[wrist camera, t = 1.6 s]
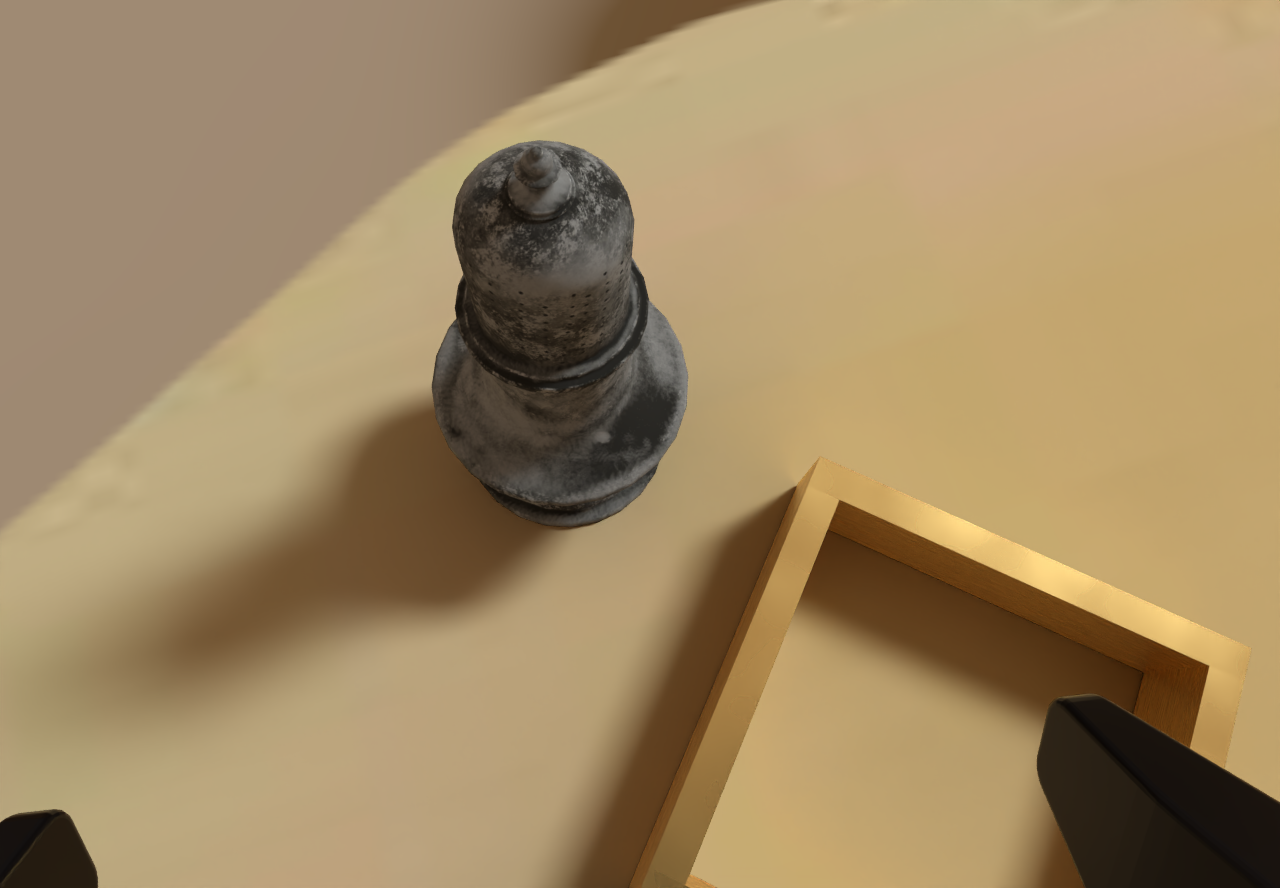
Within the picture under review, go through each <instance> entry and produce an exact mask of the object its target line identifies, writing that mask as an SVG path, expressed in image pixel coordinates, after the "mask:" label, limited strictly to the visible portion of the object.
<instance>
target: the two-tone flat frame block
mask: <svg viewBox="0 0 1280 888" xmlns="http://www.w3.org/2000/svg"><path fill="white" fill-rule="evenodd" d="M827 530H831V531H833V532H835V533H837V534H839V535H842V536H844V537H846V538H848V539H850V540H853V541H855V542H857V543H859V544H862V545H864V546H866V547H868V548H870V549H873V550H875V551H877V552H879V553H881V554H884V555H886V556H888V557H890V558H892V559H895V560H897V561H899V562H901V563H903V564H906V565H908V566H910V567H912V568H914V569H917V570H919V571H921V572H923V573H926V574H928V575H930V576H932V577H934V578H937V579H939V580H941V581H943V582H945V583H948V584H950V585H952V586H954V587H956V588H959V589H961V590H963V591H965V592H967V593H970V594H972V595H974V596H976V597H978V598H981V599H983V600H985V601H987V602H989V603H992V604H994V605H996V606H998V607H1001V608H1003V609H1005V610H1007V611H1009V612H1012V613H1014V614H1016V615H1018V616H1020V617H1023V618H1025V619H1027V620H1029V621H1031V622H1034V623H1036V624H1038V625H1040V626H1042V627H1045V628H1047V629H1049V630H1051V631H1053V632H1056V633H1058V634H1060V635H1062V636H1065V637H1067V638H1069V639H1071V640H1073V641H1076V642H1078V643H1080V644H1082V645H1084V646H1087V647H1089V648H1091V649H1093V650H1095V651H1098V652H1100V653H1102V654H1104V655H1106V656H1109V657H1111V658H1113V659H1115V660H1117V661H1120V662H1122V663H1124V664H1126V665H1128V666H1131V667H1133V668H1135V669H1137V670H1140V671H1142V672H1144V675H1143V678H1142V682H1141V686H1140V690H1139V693H1138V697H1137V701H1136V705H1135V709H1134V712H1133V715H1135V716H1137V717H1138V718H1140V719H1142V720H1143V721H1145V722H1147V723H1148V724H1150V725H1152V726H1153V727H1155V728H1157V729H1158V730H1160V731H1162V732H1163V733H1165V734H1167V735H1168V736H1170V737H1172V738H1173V739H1175V740H1177V741H1178V742H1180V743H1182V744H1183V745H1185V746H1187V747H1188V748H1190V749H1192V750H1193V751H1195V752H1197V753H1198V754H1200V755H1202V756H1203V757H1205V758H1207V759H1208V760H1210V761H1212V762H1213V763H1215V764H1217V765H1218V766H1220V767H1222V768H1223V769H1224V768H1225V763H1226V759H1227V754H1228V750H1229V746H1230V741H1231V737H1232V732H1233V728H1234V724H1235V719H1236V715H1237V710H1238V706H1239V701H1240V697H1241V693H1242V688H1243V684H1244V679H1245V675H1246V671H1247V666H1248V662H1249V657H1250V653H1251V649H1252V648H1250V647H1247V646H1245V645H1243V644H1241V643H1238V642H1236V641H1234V640H1232V639H1229V638H1227V637H1225V636H1223V635H1220V634H1218V633H1216V632H1214V631H1211V630H1209V629H1207V628H1205V627H1202V626H1200V625H1198V624H1196V623H1193V622H1191V621H1189V620H1187V619H1184V618H1182V617H1180V616H1178V615H1175V614H1173V613H1171V612H1169V611H1166V610H1164V609H1162V608H1160V607H1158V606H1155V605H1153V604H1151V603H1149V602H1146V601H1144V600H1142V599H1140V598H1137V597H1135V596H1133V595H1131V594H1128V593H1126V592H1124V591H1122V590H1119V589H1117V588H1115V587H1113V586H1110V585H1108V584H1106V583H1104V582H1101V581H1099V580H1097V579H1095V578H1092V577H1090V576H1088V575H1086V574H1083V573H1081V572H1079V571H1077V570H1074V569H1072V568H1070V567H1068V566H1065V565H1063V564H1061V563H1059V562H1056V561H1054V560H1052V559H1050V558H1047V557H1045V556H1043V555H1041V554H1038V553H1036V552H1034V551H1032V550H1029V549H1027V548H1025V547H1023V546H1021V545H1018V544H1016V543H1014V542H1012V541H1009V540H1007V539H1005V538H1003V537H1000V536H998V535H996V534H994V533H991V532H989V531H987V530H985V529H982V528H980V527H978V526H976V525H973V524H971V523H969V522H967V521H964V520H962V519H960V518H958V517H955V516H953V515H951V514H949V513H946V512H944V511H942V510H940V509H937V508H935V507H933V506H931V505H928V504H926V503H924V502H922V501H919V500H917V499H915V498H913V497H910V496H908V495H906V494H904V493H901V492H899V491H897V490H895V489H892V488H890V487H888V486H886V485H884V484H881V483H879V482H877V481H875V480H872V479H870V478H868V477H866V476H863V475H861V474H859V473H857V472H854V471H852V470H850V469H848V468H845V467H843V466H841V465H839V464H836V463H834V462H832V461H830V460H827V459H825V458H823V457H821V456H820V457H819V458H818V460H817V461H816V462H815V463H814V465H813V466H812V467H811V468H810V469H809V471H808V472H807V473H806V474H805V476H804V477H803V478H802V479H801V481H800V482H799V483H798V485H797V487H796V489H795V492H794V494H793V496H792V499H791V501H790V504H789V506H788V508H787V511H786V513H785V516H784V518H783V520H782V523H781V525H780V527H779V530H778V532H777V535H776V537H775V539H774V542H773V544H772V547H771V549H770V551H769V554H768V556H767V558H766V561H765V563H764V566H763V568H762V570H761V573H760V575H759V578H758V580H757V582H756V585H755V587H754V589H753V592H752V594H751V597H750V599H749V601H748V604H747V606H746V609H745V611H744V613H743V616H742V618H741V621H740V623H739V625H738V628H737V630H736V632H735V635H734V637H733V640H732V642H731V644H730V647H729V649H728V652H727V654H726V656H725V659H724V661H723V663H722V666H721V668H720V671H719V673H718V675H717V678H716V680H715V683H714V685H713V687H712V690H711V692H710V694H709V697H708V699H707V702H706V704H705V706H704V709H703V711H702V714H701V716H700V718H699V721H698V723H697V725H696V728H695V730H694V733H693V735H692V737H691V740H690V742H689V745H688V747H687V749H686V752H685V754H684V756H683V759H682V761H681V764H680V766H679V768H678V771H677V773H676V776H675V778H674V780H673V783H672V785H671V787H670V790H669V792H668V795H667V797H666V799H665V802H664V804H663V807H662V809H661V811H660V814H659V816H658V818H657V821H656V823H655V826H654V828H653V830H652V833H651V835H650V838H649V840H648V842H647V845H646V847H645V849H644V852H643V854H642V857H641V859H640V861H639V864H638V866H637V869H636V871H635V873H634V876H633V878H632V880H631V883H630V885H629V887H630V888H716V887H714V886H712V885H710V884H708V883H706V882H704V881H702V880H700V879H698V878H696V877H694V876H692V875H690V872H691V869H692V867H693V864H694V862H695V859H696V857H697V854H698V852H699V849H700V847H701V844H702V842H703V839H704V837H705V834H706V832H707V829H708V827H709V824H710V822H711V819H712V817H713V814H714V812H715V809H716V807H717V804H718V802H719V799H720V797H721V794H722V792H723V789H724V787H725V784H726V782H727V779H728V777H729V774H730V772H731V769H732V767H733V764H734V762H735V759H736V757H737V754H738V752H739V749H740V747H741V744H742V742H743V739H744V737H745V734H746V732H747V729H748V727H749V724H750V722H751V719H752V717H753V714H754V712H755V709H756V707H757V704H758V702H759V699H760V697H761V694H762V692H763V689H764V687H765V684H766V682H767V679H768V677H769V674H770V672H771V669H772V667H773V664H774V662H775V659H776V657H777V654H778V652H779V649H780V647H781V644H782V642H783V639H784V637H785V634H786V632H787V629H788V627H789V624H790V622H791V619H792V617H793V614H794V612H795V609H796V607H797V605H798V602H799V600H800V597H801V595H802V592H803V590H804V587H805V585H806V582H807V580H808V577H809V575H810V572H811V570H812V567H813V565H814V562H815V560H816V557H817V555H818V552H819V550H820V547H821V545H822V542H823V540H824V537H825V535H826V532H827Z"/></svg>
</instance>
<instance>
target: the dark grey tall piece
mask: <svg viewBox="0 0 1280 888" xmlns="http://www.w3.org/2000/svg"><path fill="white" fill-rule="evenodd" d="M452 229H453V235H454V241H455V247H456V251H457V254H458V257H459V261H460V264H461V267H462V271H463V276H462V278H461V281H460V283H459V285H458V290H457V297H456V304H455V311H456V317H457V318H456V320H455V321H454V322H453V323H452V325H451V326H450V327H449V329H448V331H447V333H446V335H445V338H444V340H443V342H442V344H441V347H440V349H439V351H438V353H437V356H436V361H435V368H434V375H433V382H432V393H433V400H434V407H435V414H436V419H437V421H438V424H439V426H440V428H441V430H442V432H443V435H444V437H445V439H446V441H447V443H448V446H449V448H450V449H451V451H452V452H453V453H454V454H455V455H456V456H457V458H458V459H459V460H460V461H461V462H462V463H463V465H464V466H465V467H466V468H467V469H468V470H469V472H470V473H471V474H472V475H474V476H475V477H477V478H478V479H480V481H481V483H482V484H483V485H484V487H485V488H486V489H487V490H488V491H489V492H490V494H491V495H492V496H493V497H494V498H495V499H496V501H497V502H498V503H500V504H501V505H503V506H504V507H506V508H507V509H509V510H510V511H512V512H513V513H515V514H516V515H518V516H519V517H522V518H525V519H528V520H531V521H534V522H537V523H540V524H543V525H549V526H564V527H574V526H579V525H584V524H590V523H595V522H598V521H601V520H603V519H605V518H607V517H609V516H611V515H613V514H615V513H617V512H620V511H621V510H623V509H624V508H625V507H626V506H627V505H628V504H630V503H631V502H632V501H633V500H634V499H636V498H637V497H638V496H639V495H640V494H641V493H642V492H643V490H644V489H645V487H646V486H647V484H648V483H649V481H650V480H651V479H652V477H653V476H654V474H655V472H656V469H657V466H658V463H659V461H660V460H661V458H662V457H663V455H664V454H665V452H666V451H667V450H668V448H669V447H670V445H671V444H672V442H673V441H674V439H675V438H676V436H677V433H678V430H679V427H680V424H681V421H682V418H683V415H684V412H685V409H686V406H687V387H688V372H687V368H686V364H685V360H684V355H683V351H682V347H681V344H680V342H679V340H678V339H677V337H676V335H675V333H674V331H673V330H672V328H671V326H670V324H669V322H668V320H667V319H666V317H665V316H664V315H663V314H662V313H661V312H660V311H659V310H658V309H657V308H656V307H655V306H654V305H653V304H652V303H651V302H650V301H649V298H648V294H647V289H646V285H645V281H644V277H643V276H642V274H641V272H640V270H639V268H638V267H637V265H636V263H635V261H634V260H633V258H632V246H633V232H634V217H633V213H632V209H631V204H630V200H629V197H628V194H627V192H626V190H625V188H624V186H623V185H622V183H621V181H620V179H619V178H618V176H617V174H616V173H615V172H614V171H613V170H612V169H611V168H610V167H609V166H607V165H606V164H605V163H604V162H603V161H602V160H601V159H599V158H598V157H596V156H594V155H592V154H591V153H589V152H587V151H585V150H584V149H581V148H577V147H574V146H571V145H568V144H564V143H561V142H553V141H540V140H539V141H531V142H524V143H518V144H516V145H513V146H510V147H508V148H505V149H502V150H500V151H498V152H496V153H494V154H493V155H491V156H490V157H488V158H487V159H485V160H484V161H482V162H481V163H479V164H478V165H477V167H476V168H475V169H474V170H473V171H472V172H471V173H470V174H469V175H468V177H467V178H466V179H465V180H464V183H463V185H462V187H461V189H460V191H459V193H458V195H457V197H456V203H455V209H454V216H453V225H452Z"/></svg>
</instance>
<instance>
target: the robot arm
mask: <svg viewBox="0 0 1280 888" xmlns="http://www.w3.org/2000/svg"><path fill="white" fill-rule="evenodd" d="M1037 772H1038V777H1039V781H1040V784H1041V786H1042V789H1043V791H1044V794H1045V796H1046V798H1047V801H1048V803H1049V805H1050V808H1051V810H1052V812H1053V815H1054V817H1055V819H1056V822H1057V824H1058V826H1059V829H1060V831H1061V833H1062V836H1063V838H1064V840H1065V843H1066V845H1067V847H1068V850H1069V852H1070V854H1071V857H1072V859H1073V861H1074V864H1075V866H1076V868H1077V871H1078V873H1079V875H1080V878H1081V880H1082V882H1083V885H1084V887H1085V888H1280V802H1279V801H1277V800H1275V799H1274V798H1272V797H1270V796H1269V795H1267V794H1265V793H1264V792H1262V791H1260V790H1259V789H1257V788H1255V787H1254V786H1252V785H1250V784H1249V783H1247V782H1245V781H1243V780H1242V779H1240V778H1238V777H1237V776H1235V775H1233V774H1232V773H1230V772H1228V771H1227V770H1225V769H1223V768H1222V767H1220V766H1218V765H1217V764H1215V763H1213V762H1212V761H1210V760H1208V759H1207V758H1205V757H1203V756H1202V755H1200V754H1198V753H1197V752H1195V751H1193V750H1192V749H1190V748H1188V747H1187V746H1185V745H1183V744H1182V743H1180V742H1178V741H1177V740H1175V739H1173V738H1172V737H1170V736H1168V735H1167V734H1165V733H1163V732H1162V731H1160V730H1158V729H1157V728H1155V727H1153V726H1152V725H1150V724H1148V723H1147V722H1145V721H1143V720H1142V719H1140V718H1138V717H1137V716H1135V715H1133V714H1132V713H1130V712H1128V711H1127V710H1125V709H1123V708H1122V707H1120V706H1118V705H1117V704H1115V703H1113V702H1111V701H1110V700H1108V699H1106V698H1104V697H1102V696H1100V695H1097V694H1082V695H1073V696H1064V697H1058V698H1056V699H1054V700H1053V701H1052V703H1051V704H1050V705H1049V708H1048V712H1047V716H1046V720H1045V725H1044V729H1043V733H1042V738H1041V742H1040V747H1039V751H1038V755H1037ZM0 888H98V877H97V871H96V868H95V865H94V863H93V861H92V859H91V857H90V855H89V853H88V851H87V849H86V847H85V845H84V843H83V841H82V839H81V837H80V835H79V833H78V831H77V829H76V827H75V824H74V822H73V820H72V819H71V817H70V816H69V815H68V814H67V813H65V812H64V811H62V810H57V809H53V810H44V811H35V812H26V813H18V814H15V815H12V816H10V817H8V818H6V819H4V820H3V821H2V822H0Z"/></svg>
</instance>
